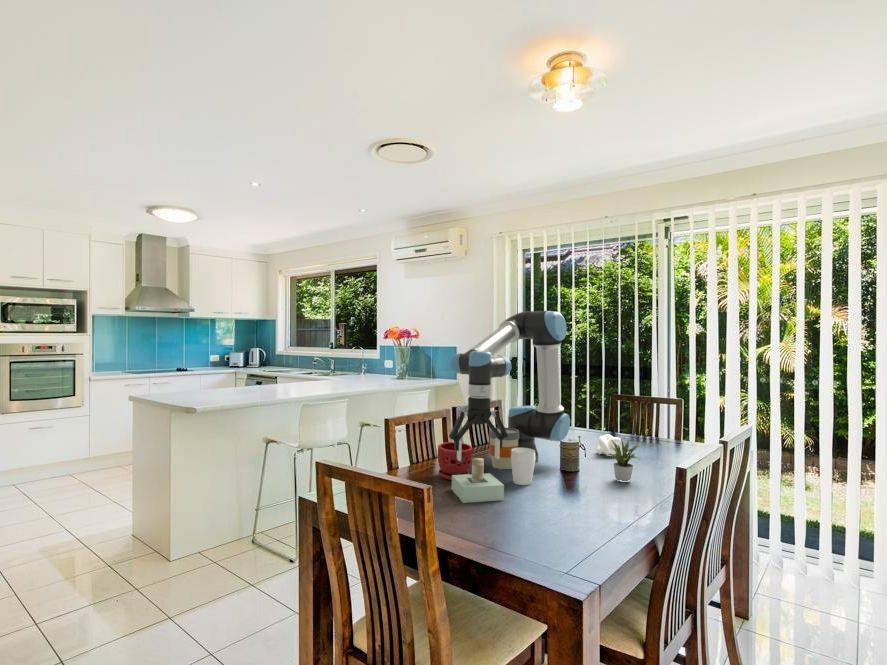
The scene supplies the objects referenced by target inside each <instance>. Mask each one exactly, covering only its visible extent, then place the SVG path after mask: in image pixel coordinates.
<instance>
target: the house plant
mask: <svg viewBox="0 0 887 665" xmlns="http://www.w3.org/2000/svg"><path fill="white" fill-rule="evenodd" d="M620 439H621V442H622V443H621V444H622V450H620V447H619V446H617V445H616V444H615V443H614V442H613V441H612V440H611V441H612V443H613V444H614V447H615V449H614V448H613V446H612V445H611V447H612V448H613V449H614V450H615V452H616V455H615V454H607V455H612V456H614V457H613V458H615V460H616V462H614V463H613V471H614V478H616V479H617V480H622V481H628V480H630V479H631V478H632V474H633V470H634V465H633V464H632V463H630V460H631V459H633V460H632V461H634V459H638V460H640V458H642V457H640V456H636V455H637V454H638V452H634V451H635V450H638V448H639V447H641V446H642V443H639V444H636V445H634V446H633V447H632V448H630V449H629V447H630V440H629V439H627V440H626V442H625V444H624V442H623V439H622V438H620ZM608 444H609V443H608ZM609 445H610V444H609ZM633 452H634V453H633ZM607 455H606V456H607ZM632 461H631V462H632ZM616 479H615V480H616ZM631 480H632V479H631ZM631 480H630V481H631Z"/></svg>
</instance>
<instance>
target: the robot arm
mask: <svg viewBox="0 0 887 665" xmlns="http://www.w3.org/2000/svg"><path fill="white" fill-rule="evenodd" d="M566 335H567V323H566V319H565V318H564V316H563V314H562V313H560V312H559V311H554V310H534V311H533V310H532V311H530V310H527V311H526V310H525V311H521V312H518V313H515V314H514V315H512V316H510V317H508V318H506V319H505V320H503V322H501V323H500V324H499V326H498V328H497V329H496V330H494V331H492V332H491V333H490V334H489V335H488V336H486V337H484V338H483V339H482V340H480V342H478V343H476V344H475V345H474V346H472V347H471V348H470V349H469V350H467V351H466V352H464V353H461V352H460V353H455V354H453V356H452V358H451V359H450V368H451V370H452V372H453V373H455V374H460V375H468V391H467V393H468V394H467V395H468V396H469V397H468V400H467V404H468V405H467V408H468V409H467V411H463V410H459V412H458V417H457V419H456V421H455V422H454V423H455V424H454V425H453V427H452V429H451V431H450V434H449V435H448V437H449V439H450V440H452V441H453V442H454V449H455V451H457V460H458V461H461V451H462V450H461V447H462V443H463V442H462V441H461V439H462V438H463V437H464V435H465V434H466V433H467V432H468V431H469V429H470V428H471V427H472V426H473V425H476V426H477V425H485V424H486V425H487V427H488V428H489V430H490V429H491V430H492V431H493V433H494V434H495V435H496V436H497V437H498V438H495V458H497V459H500V449H502V440H503V439H504V438H505V437H508V434H507V432H506V430H505V428H506V427H505V426H504V424H503V421H502V420H501V418H500V417H501V416H500V411H498V410H496V409H494V410H491V398H490V396H491V394H492V393H491V388H492V385H491V384H492V381H491V380H492V379H493V378H502V377H506V376H508V375H509V373H510V372H511V371H512V362H511V360H510V359H509V357H508V356H505V355H501V354H500V355H499V354H498V353H499V352H500V351H501V350H503V349H504V348H506V347H507V346H508V345H509V344H510V343H511V344H512V343H515V342H517V341H518V340H532V346H534V348H536V361H537V362H536V363H537V366H536V367H537V383H538V384H537V387H538V388H537V389H538V405H537V406H536V405H519V406H512V407H511V408H509V409H508V417H507V419H508V420H507V423H508V424H507V428H513V429H517V430H519V439H518V445H519V446H518V448H530V449H533V450H535V458H536V459H535V463H537V462H539V453H538V449H537V445H536V442H535V441H536V439H542V440H545V441H550V442H562V441H564V440H565V439H566V437H567V436H568V433H569V430H570V426H571V418H570V415H569V414H568V413H565V407H564V406H563V405H562V404H561V394H560V368H559V350H558V348H559V347H560V346H561V345H562V341H563V340H565V338H566ZM497 354H498V355H497ZM491 417H493V419H494V420H495V423H496V424H497V427H499V429H500V431H501V434H500V433H499V432H498V430H497V429H496V428H497V427H495V426H494V424H493V422H492V421H491V420H490V418H491ZM466 418H468V419H467V421H465V423H464V424H463V425H462V423H463V421H464V420H465V419H466ZM461 426H462V427H461ZM504 427H505V428H504ZM460 428H461V429H460Z"/></svg>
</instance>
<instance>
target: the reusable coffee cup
mask: <svg viewBox="0 0 887 665" xmlns="http://www.w3.org/2000/svg"><path fill="white" fill-rule="evenodd" d="M495 428H496V429H497V430H498V432H499V433H500V434H501V431H500V429H499V427H498V426H497V427H495ZM504 428H505V430H506V432H507V434H508V437H505V438H504V439H503V440H502V449H500V459H497V458H495V438H498V437H497V436H496V435H495V434H494V433H493V431H492V430H491V429H490V428H489V431H488V438H489V444H488V447H489V454H490V455H491V466H492V467H493V468H494V469H496V468H498V469H497V470H502V469H509V470H512V465H511V450H512V449H513V448H518V446H519V445H518V439H519V430H517V429H513V428H508V427H505V426H504Z"/></svg>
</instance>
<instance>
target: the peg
mask: <svg viewBox="0 0 887 665" xmlns="http://www.w3.org/2000/svg"><path fill="white" fill-rule="evenodd" d="M484 465H485V459H484V458H482V457H481V458H480V457H475V458H473V457H472V460H471V474H472V483H482V482H483V478H484V471H485V470H484V469H485V466H484Z"/></svg>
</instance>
